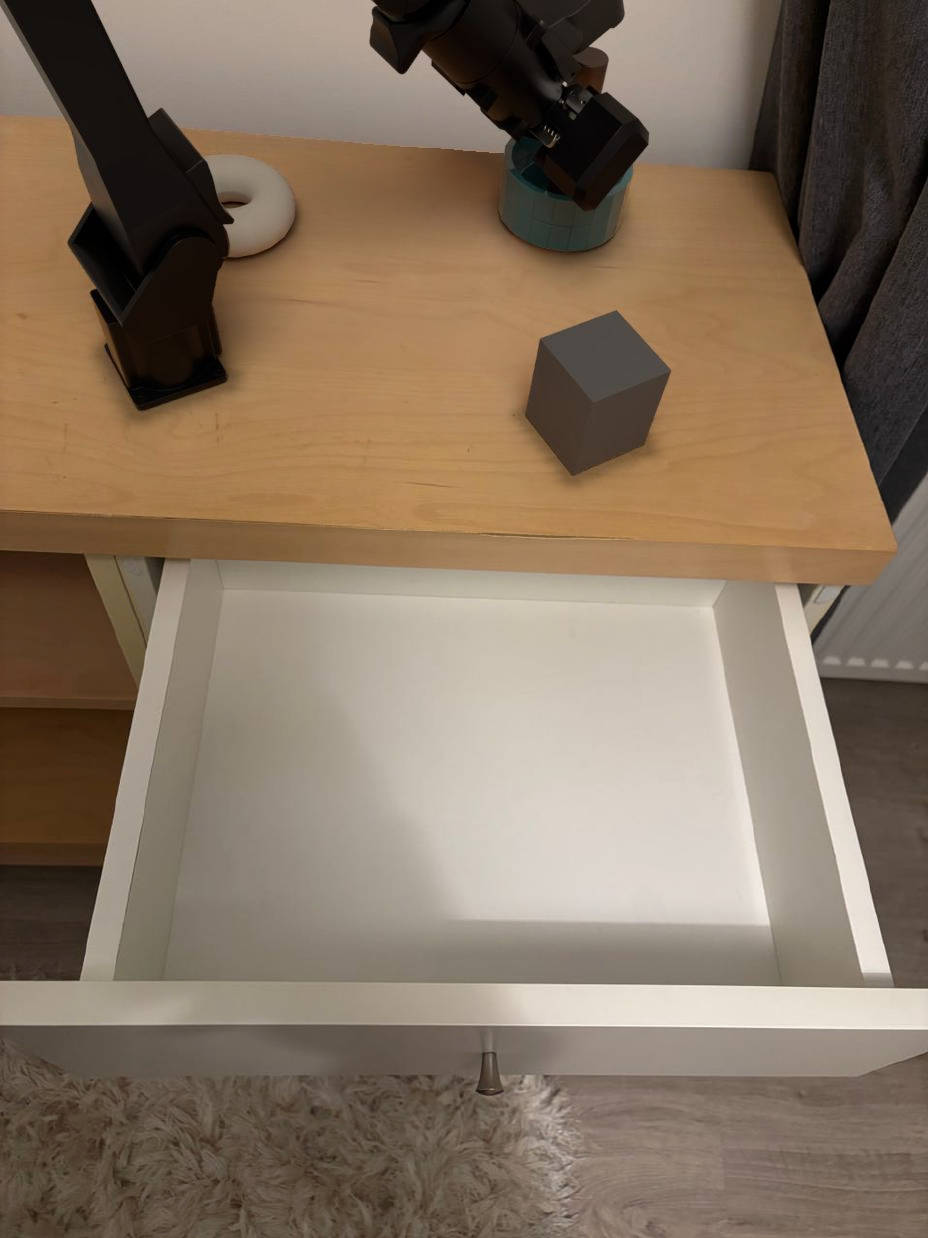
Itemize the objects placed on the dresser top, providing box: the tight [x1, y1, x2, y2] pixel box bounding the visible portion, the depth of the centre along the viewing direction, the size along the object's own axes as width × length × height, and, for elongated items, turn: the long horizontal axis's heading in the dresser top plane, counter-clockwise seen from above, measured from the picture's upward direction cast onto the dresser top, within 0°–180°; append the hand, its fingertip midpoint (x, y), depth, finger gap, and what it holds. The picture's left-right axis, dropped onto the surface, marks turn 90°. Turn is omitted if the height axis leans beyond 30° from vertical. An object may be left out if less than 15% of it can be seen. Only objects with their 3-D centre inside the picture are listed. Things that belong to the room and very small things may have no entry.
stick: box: [547, 46, 610, 196], centre depth 68 cm, size 3×3×12 cm
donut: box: [202, 153, 297, 258], centre depth 69 cm, size 10×4×10 cm
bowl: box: [497, 136, 634, 253], centre depth 72 cm, size 10×10×5 cm
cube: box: [524, 309, 672, 476], centre depth 59 cm, size 6×6×7 cm
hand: (584, 152), depth 70 cm, fingers closed on stick, 3 cm apart
